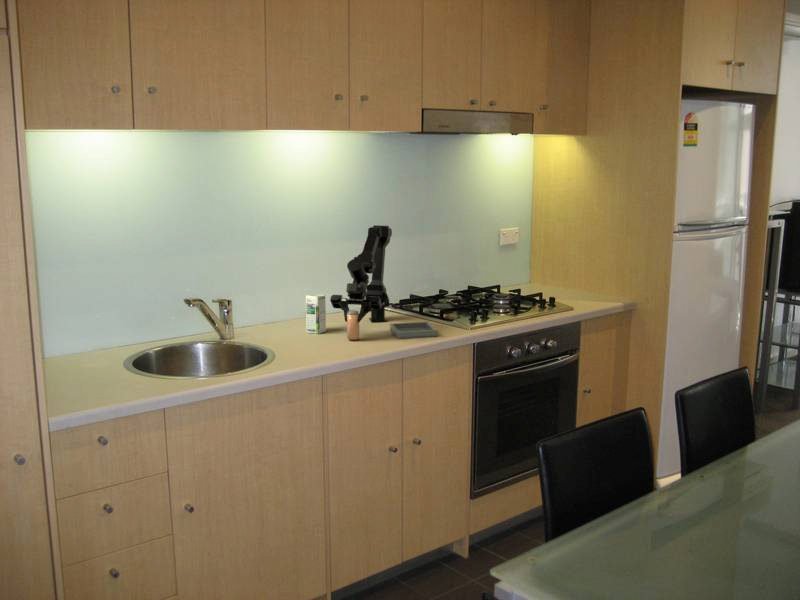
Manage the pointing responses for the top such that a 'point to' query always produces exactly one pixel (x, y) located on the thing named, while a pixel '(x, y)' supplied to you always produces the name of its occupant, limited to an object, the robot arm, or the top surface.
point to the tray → (413, 330)
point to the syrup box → (315, 314)
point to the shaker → (352, 325)
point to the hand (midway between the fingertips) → (352, 321)
